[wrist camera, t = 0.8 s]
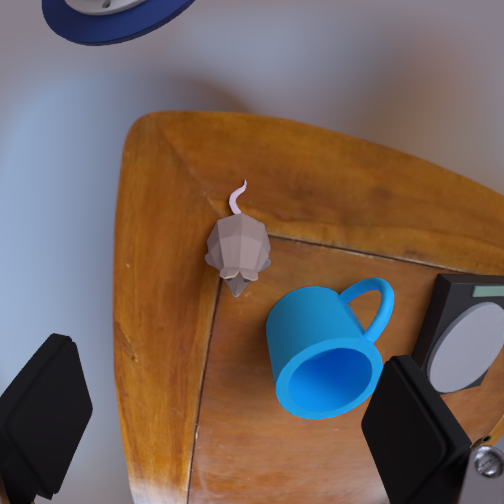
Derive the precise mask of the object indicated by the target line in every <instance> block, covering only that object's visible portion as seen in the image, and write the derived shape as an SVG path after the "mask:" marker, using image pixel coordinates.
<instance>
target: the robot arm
mask: <svg viewBox="0 0 504 504" xmlns="http://www.w3.org/2000/svg"><path fill="white" fill-rule="evenodd" d="M144 1H146V0H65V2H66V3H67V4H68V5H69V6H70V7H72V8H73V9H74V10H76V11H78V12H80V13H83V14H87V15H98V16H100V15H109V14H114V13H117V12H121V11H124V10H127V9H129V8H132V7H135V6H137V5H138V4H140V3H142V2H144ZM92 410H93V408H92V402H91V399H90V396H89V392H88V389H87V385H86V382H85V378H84V374H83V370H82V366H81V362H80V358H79V354H78V349H77V345H76V343H75V342H72V339H71V338H70V337H69V336H65V335H60V334H55V333H53V334H51V335H50V336H49V337H48V338H47V340H46V341H45V342H44V343H43V344H42V346H41V347H40V348H39V349H38V350H37V351H36V353H35V354H34V355H33V357H32V358H31V359H30V360H29V361H28V362H27V364H26V365H25V366H24V367H23V368H22V370H21V371H20V372H19V373H18V375H17V376H16V377H15V379H14V380H13V381H12V382H11V384H10V385H9V386H8V388H7V389H6V390H5V391H4V393H3V394H2V395H1V397H0V504H35V503H34V499H35V496H36V494H37V495H39V496H41V497H44V498H46V499H49V500H51V499H52V496H53V494H56V493H58V492H59V490H60V488H61V485H62V482H63V480H64V477H65V475H66V473H67V470H68V468H69V465H70V463H71V461H72V458H73V456H74V453H75V451H76V449H77V446H78V444H79V442H80V440H81V437H82V435H83V433H84V431H85V428H86V426H87V424H88V422H89V419H90V417H91V415H92ZM361 427H362V431H363V434H364V436H365V439H366V441H367V444H368V446H369V449H370V451H371V454H372V456H373V459H374V462H375V464H376V467H377V469H378V472H379V474H380V477H381V480H382V482H383V485H384V488H385V490H386V493H387V496H388V498H389V501H390V504H504V454H503V452H502V451H500V450H499V449H498V448H496V447H493V446H490V445H481V446H478V447H476V448H475V449H474V450H473V451H471V449H470V446H471V445H472V442H471V441H470V439H469V438H468V436H467V435H466V433H465V432H464V430H463V429H462V427H461V426H460V424H459V423H458V421H457V420H456V418H455V417H454V415H453V414H452V412H451V411H450V410H449V408H448V407H447V405H446V404H445V402H444V401H443V400H442V398H441V397H440V395H439V394H438V393H437V391H436V390H435V388H434V387H433V386H432V384H431V383H430V381H429V380H428V379H427V377H426V376H425V375H424V373H423V372H422V370H421V369H420V368H419V366H418V365H417V364H416V362H415V361H414V360H413V358H412V357H411V356H410V355H401V356H392V357H391V358H390V360H389V361H386V363H385V364H384V367H383V370H382V372H381V375H380V378H379V380H378V383H377V385H376V388H375V390H374V393H373V395H372V398H371V400H370V403H369V405H368V407H367V410H366V412H365V414H364V417H363V419H362V423H361Z"/></svg>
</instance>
